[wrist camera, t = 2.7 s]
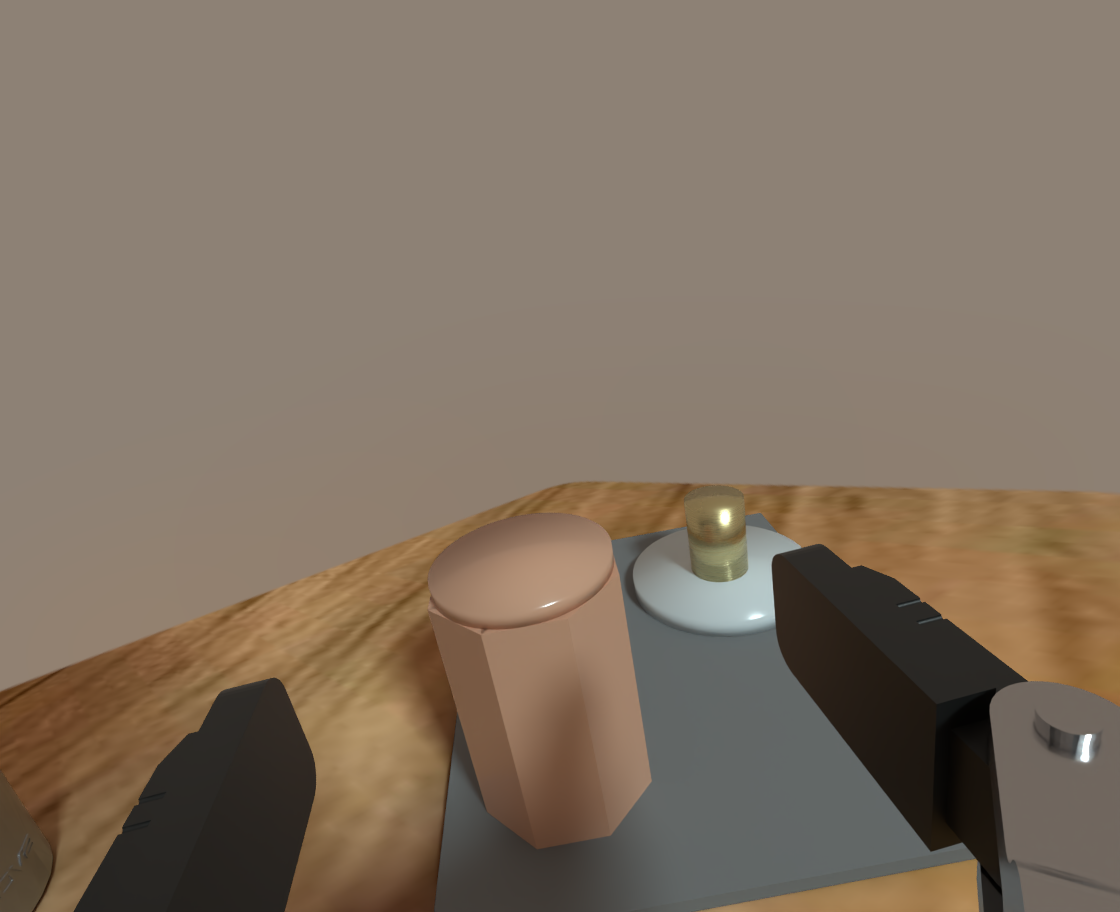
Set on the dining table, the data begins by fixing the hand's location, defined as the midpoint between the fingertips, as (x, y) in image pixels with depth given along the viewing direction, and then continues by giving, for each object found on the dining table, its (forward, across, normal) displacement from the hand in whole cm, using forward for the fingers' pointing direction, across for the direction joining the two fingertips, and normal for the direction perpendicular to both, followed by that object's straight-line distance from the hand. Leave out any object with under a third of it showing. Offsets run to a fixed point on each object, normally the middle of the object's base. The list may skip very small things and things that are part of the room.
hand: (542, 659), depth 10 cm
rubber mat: (+17, -5, +15) cm, 23 cm away
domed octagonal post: (+12, 0, +14) cm, 19 cm away
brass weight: (+22, -11, +13) cm, 28 cm away
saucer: (+22, -11, +14) cm, 28 cm away
